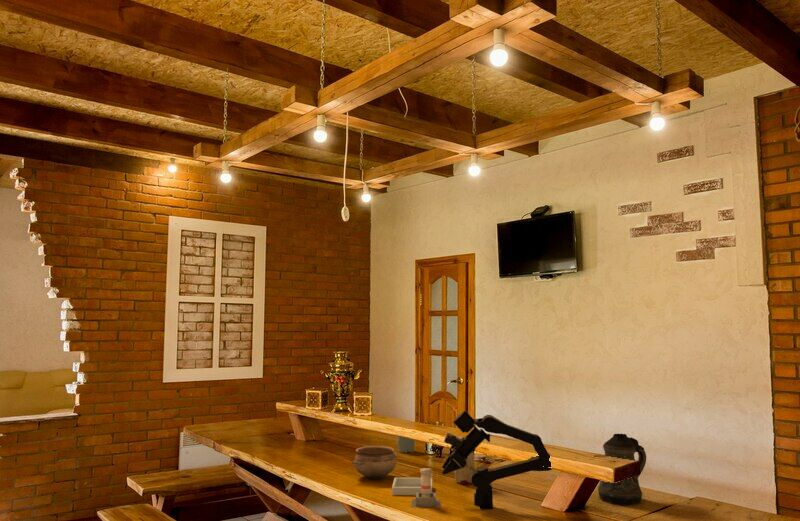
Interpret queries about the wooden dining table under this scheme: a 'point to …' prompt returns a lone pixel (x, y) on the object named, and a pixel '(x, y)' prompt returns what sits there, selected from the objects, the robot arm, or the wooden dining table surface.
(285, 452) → the wooden dining table surface
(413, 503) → the fuse block
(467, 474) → the food model
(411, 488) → the tray
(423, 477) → the fuse
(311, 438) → the wooden dining table surface
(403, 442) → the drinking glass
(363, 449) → the cooking pot
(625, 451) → the black jug
